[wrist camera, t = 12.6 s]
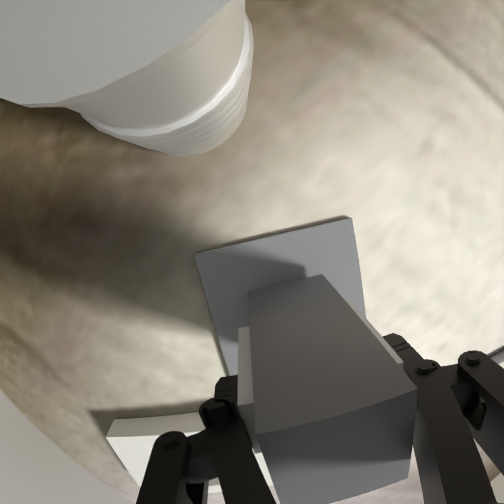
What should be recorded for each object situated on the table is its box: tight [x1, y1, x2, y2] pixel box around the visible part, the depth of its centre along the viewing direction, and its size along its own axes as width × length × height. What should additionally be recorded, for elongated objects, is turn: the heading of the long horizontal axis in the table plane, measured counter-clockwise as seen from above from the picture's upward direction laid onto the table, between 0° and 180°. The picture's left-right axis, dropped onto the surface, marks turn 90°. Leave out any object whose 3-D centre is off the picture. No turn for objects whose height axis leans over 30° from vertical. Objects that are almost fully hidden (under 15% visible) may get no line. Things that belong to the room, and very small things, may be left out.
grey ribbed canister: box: [0, 0, 254, 157], centre depth 11 cm, size 7×7×15 cm
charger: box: [247, 274, 418, 504], centre depth 14 cm, size 5×5×12 cm
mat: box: [194, 218, 366, 376], centre depth 21 cm, size 10×10×1 cm
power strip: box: [106, 350, 504, 493], centre depth 22 cm, size 38×8×3 cm, turn 103°
